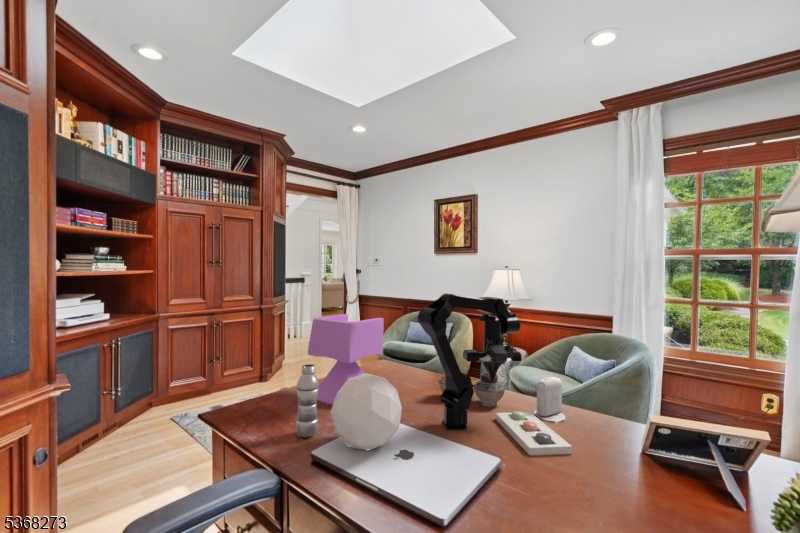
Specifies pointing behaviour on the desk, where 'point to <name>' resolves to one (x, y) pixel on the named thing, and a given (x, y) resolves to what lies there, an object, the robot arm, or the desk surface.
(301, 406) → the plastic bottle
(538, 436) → the charcoal button
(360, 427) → the geometric orb
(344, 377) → the purple table lamp
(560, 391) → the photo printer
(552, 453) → the button console
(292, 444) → the desk surface
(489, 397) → the pottery
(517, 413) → the sage button
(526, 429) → the terracotta button
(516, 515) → the desk surface
